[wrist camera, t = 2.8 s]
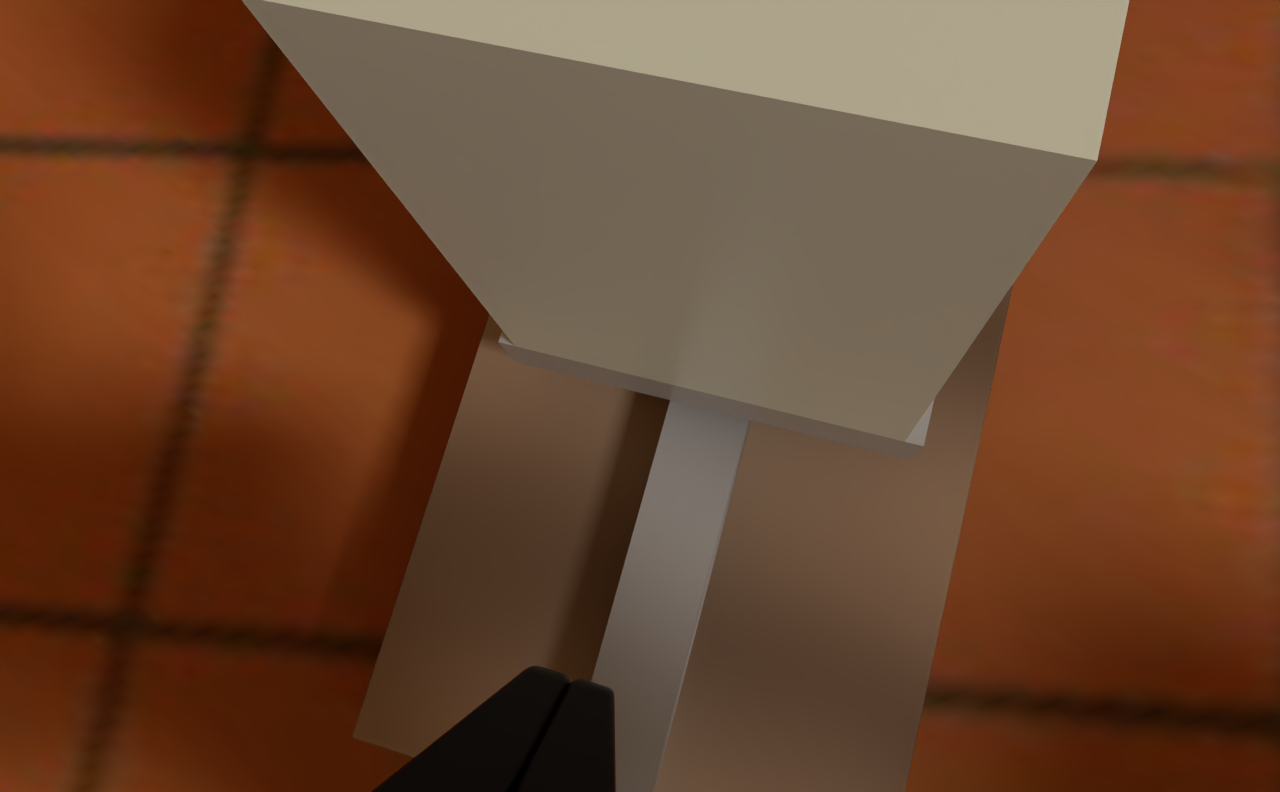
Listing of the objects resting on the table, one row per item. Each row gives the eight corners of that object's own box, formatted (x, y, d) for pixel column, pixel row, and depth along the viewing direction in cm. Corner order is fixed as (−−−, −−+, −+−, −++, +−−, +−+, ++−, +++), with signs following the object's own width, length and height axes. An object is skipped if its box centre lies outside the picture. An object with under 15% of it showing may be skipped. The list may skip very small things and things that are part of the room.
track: (868, 885, 16) (990, 1139, 7) (385, 730, 17) (37, 802, 9) (1079, -89, 19) (1318, -643, 11) (667, -152, 21) (606, -686, 12)
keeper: (913, 459, 14) (1143, 169, 6) (514, 361, 16) (203, -12, 7) (963, 234, 15) (1237, -324, 7) (580, 154, 16) (374, -421, 8)
